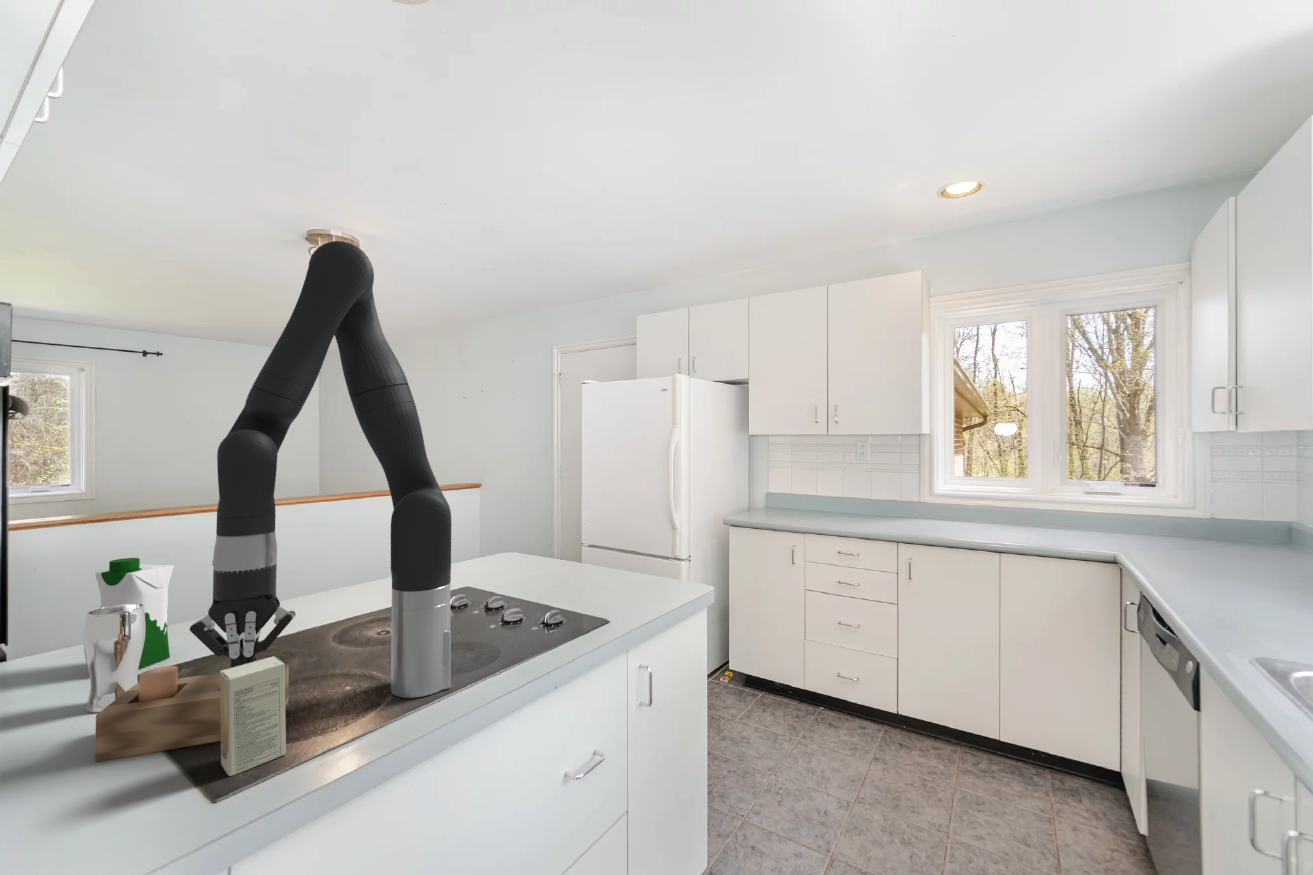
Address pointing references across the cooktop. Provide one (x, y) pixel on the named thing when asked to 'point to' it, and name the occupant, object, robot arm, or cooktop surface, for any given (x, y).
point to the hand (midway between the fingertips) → (243, 680)
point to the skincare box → (252, 714)
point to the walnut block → (162, 719)
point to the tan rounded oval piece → (158, 683)
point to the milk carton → (141, 600)
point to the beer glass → (113, 651)
